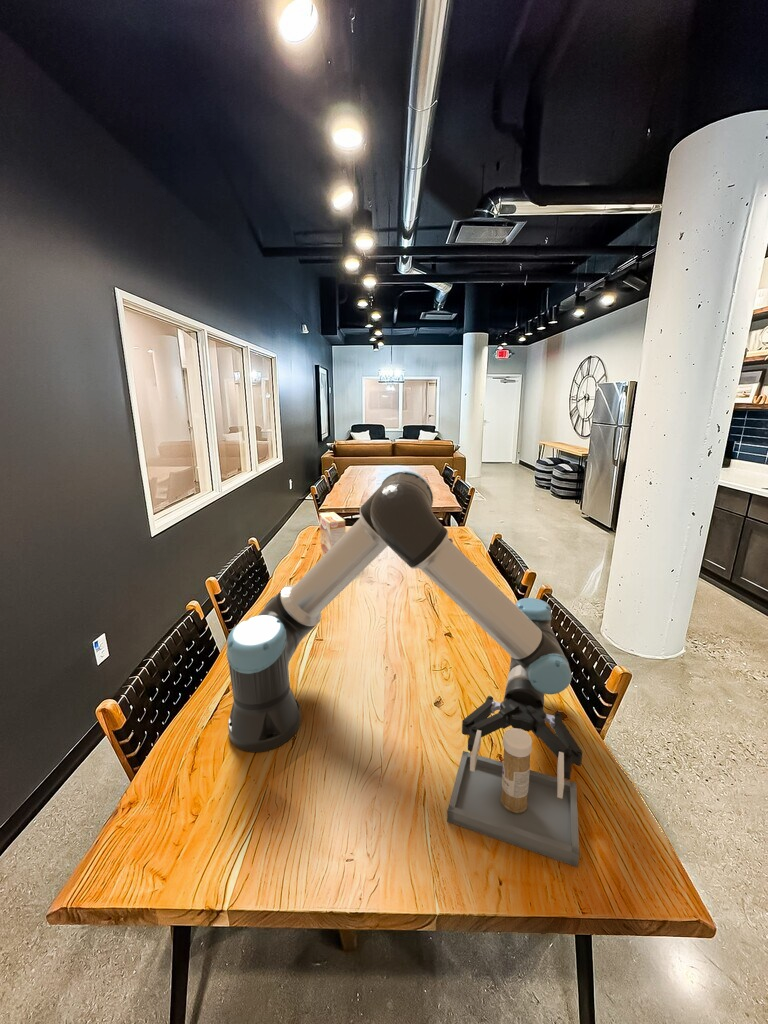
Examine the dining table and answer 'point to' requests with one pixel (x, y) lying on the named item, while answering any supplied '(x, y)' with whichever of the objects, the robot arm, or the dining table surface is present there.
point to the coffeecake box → (330, 530)
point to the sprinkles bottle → (516, 769)
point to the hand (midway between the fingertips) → (514, 777)
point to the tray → (536, 829)
